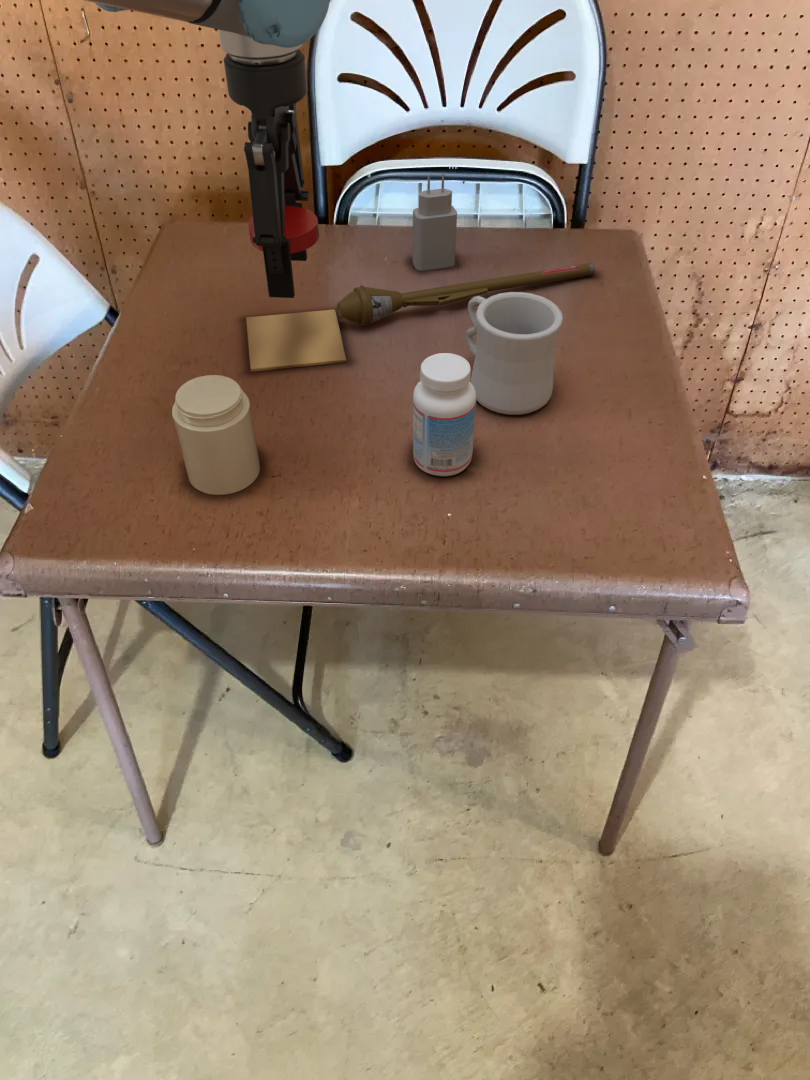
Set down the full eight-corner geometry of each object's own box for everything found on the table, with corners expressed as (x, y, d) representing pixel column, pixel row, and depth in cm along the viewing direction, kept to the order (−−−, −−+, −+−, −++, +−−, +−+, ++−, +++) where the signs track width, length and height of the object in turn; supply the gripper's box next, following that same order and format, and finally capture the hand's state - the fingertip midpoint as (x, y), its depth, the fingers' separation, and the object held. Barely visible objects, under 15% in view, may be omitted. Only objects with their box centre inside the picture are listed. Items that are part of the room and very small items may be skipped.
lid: (295, 215, 95) (293, 199, 93) (333, 239, 91) (332, 223, 90) (237, 235, 92) (235, 219, 90) (274, 261, 88) (272, 245, 86)
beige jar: (187, 499, 82) (167, 422, 75) (187, 451, 87) (169, 375, 80) (262, 490, 83) (249, 413, 76) (258, 443, 87) (245, 367, 81)
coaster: (250, 371, 96) (250, 369, 96) (246, 320, 104) (246, 317, 103) (346, 362, 98) (346, 359, 97) (335, 311, 105) (335, 309, 105)
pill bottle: (482, 452, 87) (490, 360, 78) (452, 486, 83) (458, 394, 75) (432, 432, 89) (435, 341, 81) (401, 464, 85) (400, 372, 77)
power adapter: (411, 260, 114) (411, 171, 105) (449, 255, 115) (453, 166, 106) (417, 271, 112) (418, 181, 103) (456, 266, 113) (460, 176, 104)
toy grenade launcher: (578, 274, 114) (595, 294, 111) (332, 314, 104) (345, 337, 101) (587, 242, 110) (605, 262, 108) (333, 281, 100) (346, 304, 97)
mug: (568, 397, 93) (582, 318, 86) (507, 429, 89) (516, 348, 82) (494, 347, 100) (501, 269, 92) (434, 374, 96) (437, 295, 89)
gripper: (283, 92, 71) (306, 328, 87) (320, 19, 85) (334, 235, 101) (195, 89, 71) (235, 324, 88) (247, 17, 85) (273, 232, 102)
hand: (288, 276), depth 95 cm, fingers closed on lid, 7 cm apart
